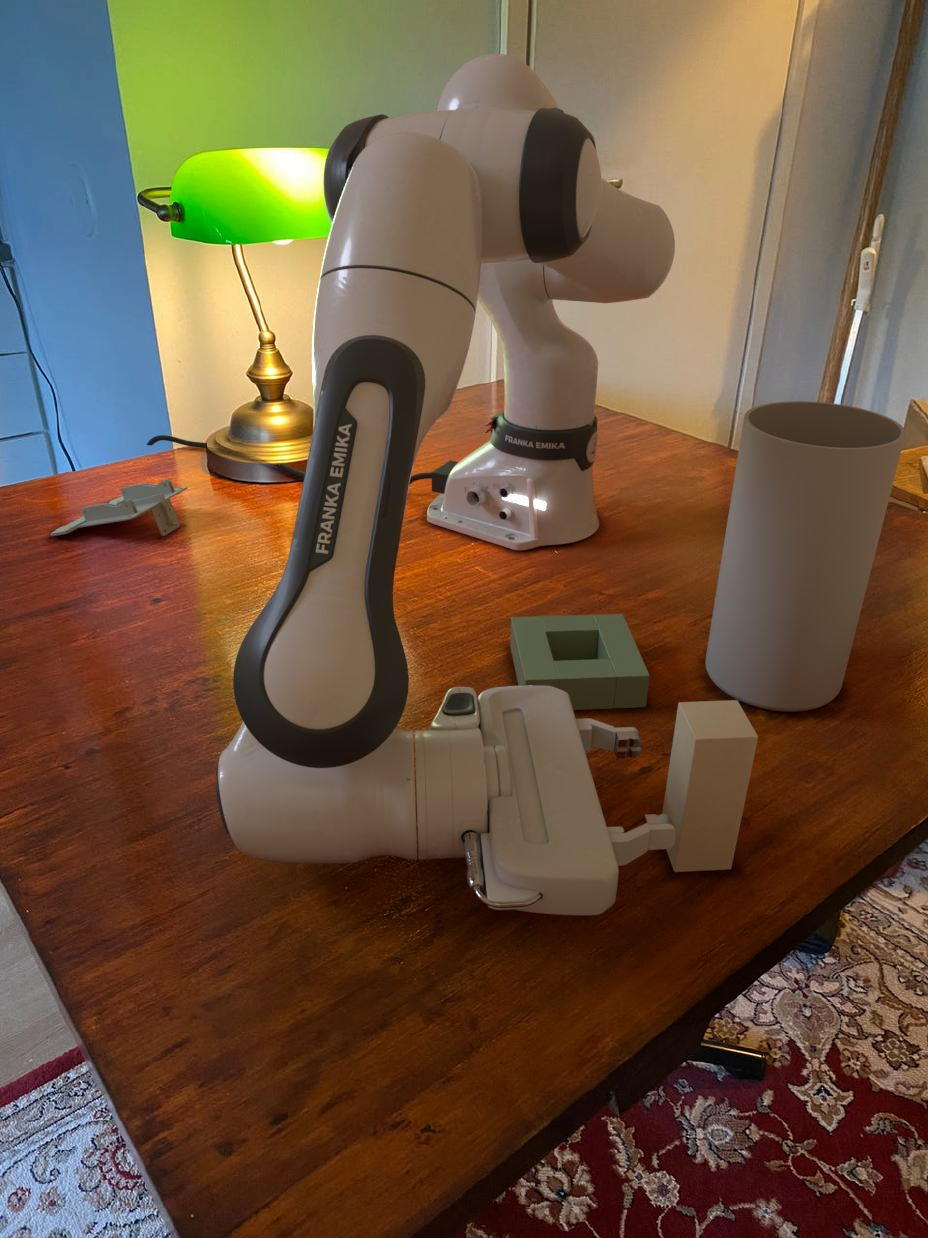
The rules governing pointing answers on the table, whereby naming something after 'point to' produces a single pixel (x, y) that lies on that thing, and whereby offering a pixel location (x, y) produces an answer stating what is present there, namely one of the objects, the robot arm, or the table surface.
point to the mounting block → (581, 659)
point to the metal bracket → (132, 508)
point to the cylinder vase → (799, 550)
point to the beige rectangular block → (708, 783)
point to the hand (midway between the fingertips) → (654, 783)
